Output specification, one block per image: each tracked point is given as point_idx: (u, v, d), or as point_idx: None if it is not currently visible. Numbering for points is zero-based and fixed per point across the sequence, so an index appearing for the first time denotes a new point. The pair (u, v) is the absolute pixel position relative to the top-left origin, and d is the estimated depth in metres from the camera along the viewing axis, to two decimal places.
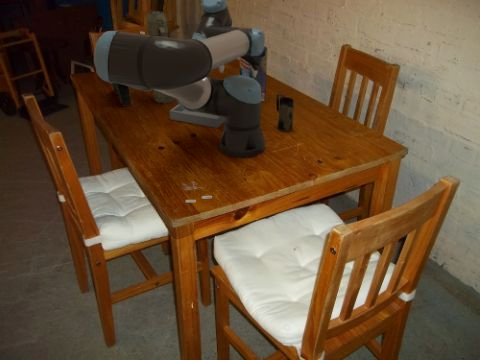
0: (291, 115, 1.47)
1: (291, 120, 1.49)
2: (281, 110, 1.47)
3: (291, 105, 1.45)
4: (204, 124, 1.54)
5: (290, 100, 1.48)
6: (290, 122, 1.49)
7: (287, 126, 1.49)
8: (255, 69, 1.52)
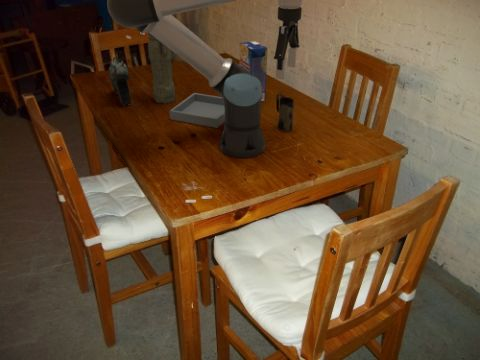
0: (291, 115, 1.47)
1: (291, 120, 1.49)
2: (281, 110, 1.47)
3: (291, 105, 1.45)
4: (204, 124, 1.54)
5: (290, 100, 1.48)
6: (290, 122, 1.49)
7: (287, 126, 1.49)
8: None
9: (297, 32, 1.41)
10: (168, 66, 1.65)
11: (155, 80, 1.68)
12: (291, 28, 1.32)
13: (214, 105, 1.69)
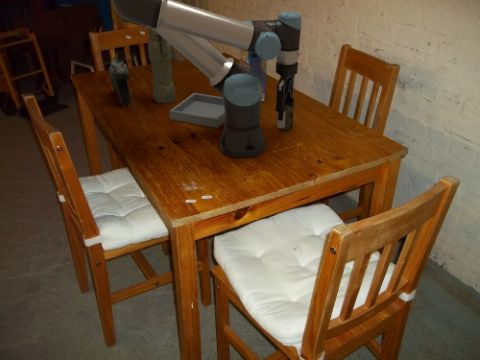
0: (292, 114, 1.48)
1: (292, 119, 1.49)
2: None
3: (292, 104, 1.46)
4: (204, 124, 1.54)
5: (290, 99, 1.49)
6: (291, 122, 1.49)
7: (288, 126, 1.50)
8: None
9: (292, 87, 1.50)
10: (168, 66, 1.65)
11: (155, 80, 1.68)
12: (288, 82, 1.41)
13: (214, 105, 1.69)
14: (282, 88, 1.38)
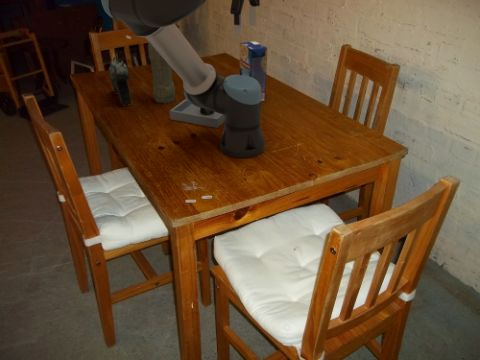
0: None
1: None
2: None
3: None
4: (204, 124, 1.54)
5: None
6: None
7: (208, 110, 1.60)
8: None
9: None
10: (168, 66, 1.65)
11: (155, 80, 1.68)
12: None
13: None
14: None
